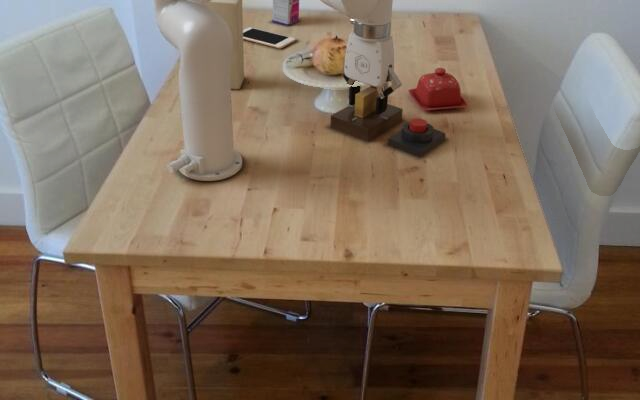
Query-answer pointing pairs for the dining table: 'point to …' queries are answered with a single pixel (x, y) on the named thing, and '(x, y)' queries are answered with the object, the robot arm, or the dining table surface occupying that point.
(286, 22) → the supplement box
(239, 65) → the toy refrigerator
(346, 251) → the dining table surface
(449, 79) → the butter dish
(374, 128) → the plate
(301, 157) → the dining table surface
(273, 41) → the cell phone
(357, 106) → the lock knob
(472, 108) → the dining table surface
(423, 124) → the alarm button
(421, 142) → the alarm box
